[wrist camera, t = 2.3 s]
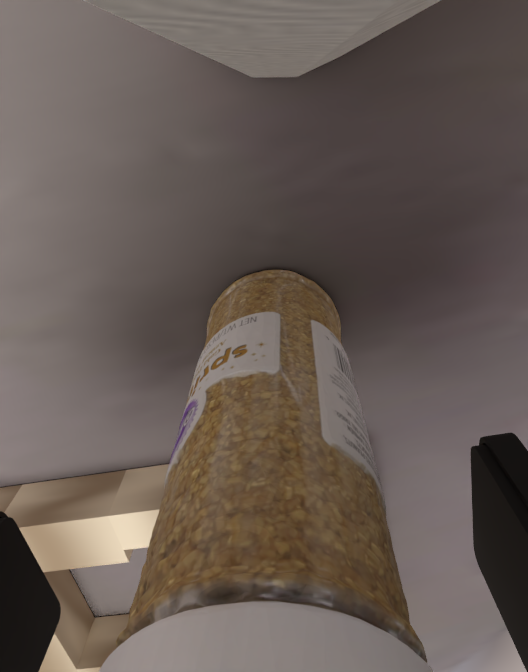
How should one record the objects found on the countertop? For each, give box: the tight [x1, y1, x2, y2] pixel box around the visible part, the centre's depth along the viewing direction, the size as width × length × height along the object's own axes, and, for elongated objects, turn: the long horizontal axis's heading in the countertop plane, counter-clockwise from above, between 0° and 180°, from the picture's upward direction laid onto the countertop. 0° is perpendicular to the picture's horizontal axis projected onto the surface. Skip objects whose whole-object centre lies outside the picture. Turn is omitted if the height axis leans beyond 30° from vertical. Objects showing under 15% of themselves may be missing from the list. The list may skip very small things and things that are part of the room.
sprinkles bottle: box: [99, 270, 433, 672], centre depth 11 cm, size 5×5×14 cm
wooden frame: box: [0, 464, 169, 672], centre depth 21 cm, size 16×11×2 cm
